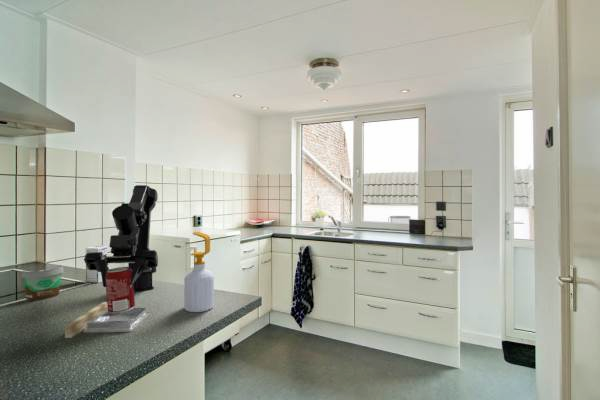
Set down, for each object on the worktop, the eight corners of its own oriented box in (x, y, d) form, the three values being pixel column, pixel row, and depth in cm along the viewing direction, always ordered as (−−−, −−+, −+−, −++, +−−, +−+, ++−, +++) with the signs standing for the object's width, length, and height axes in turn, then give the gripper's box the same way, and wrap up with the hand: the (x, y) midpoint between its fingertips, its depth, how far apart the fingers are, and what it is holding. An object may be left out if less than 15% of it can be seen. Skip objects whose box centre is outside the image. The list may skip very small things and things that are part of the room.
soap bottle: (190, 302, 109) (190, 230, 109) (217, 303, 109) (217, 230, 108) (179, 312, 100) (180, 233, 100) (208, 313, 100) (209, 234, 99)
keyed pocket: (107, 315, 97) (107, 307, 97) (148, 314, 98) (148, 307, 98) (84, 332, 85) (83, 323, 85) (131, 331, 86) (131, 323, 86)
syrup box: (108, 279, 137) (108, 245, 137) (98, 283, 131) (98, 247, 131) (95, 279, 138) (95, 245, 138) (85, 282, 132) (85, 247, 132)
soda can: (131, 313, 89) (127, 269, 89) (104, 316, 88) (100, 272, 88) (138, 305, 96) (134, 265, 95) (113, 308, 94) (109, 267, 94)
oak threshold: (103, 311, 100) (103, 302, 100) (108, 311, 100) (108, 302, 100) (65, 337, 82) (64, 326, 82) (71, 337, 82) (71, 325, 82)
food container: (28, 303, 106) (27, 273, 106) (20, 300, 110) (20, 271, 110) (70, 294, 117) (70, 266, 117) (62, 291, 120) (62, 264, 120)
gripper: (86, 224, 92) (70, 272, 82) (156, 223, 97) (150, 268, 87) (95, 247, 100) (82, 293, 90) (160, 245, 105) (154, 288, 95)
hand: (117, 285), depth 90 cm, fingers closed on soda can, 6 cm apart
